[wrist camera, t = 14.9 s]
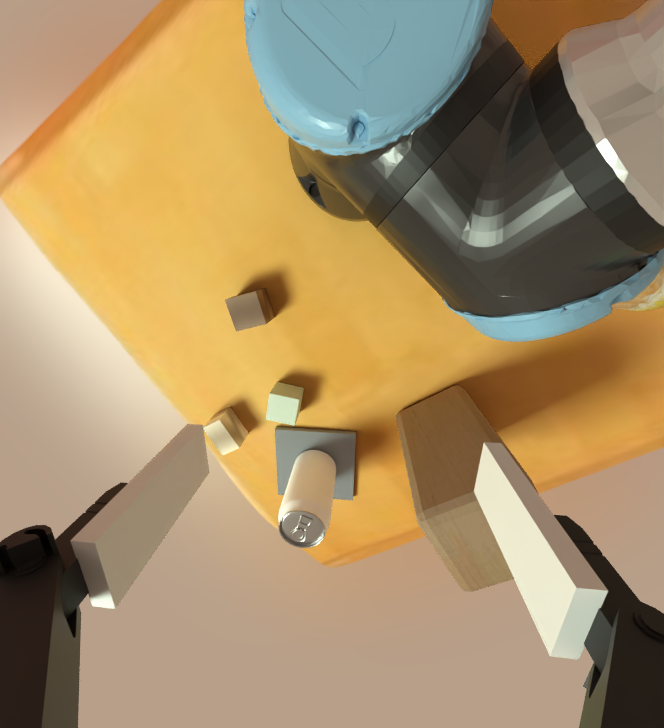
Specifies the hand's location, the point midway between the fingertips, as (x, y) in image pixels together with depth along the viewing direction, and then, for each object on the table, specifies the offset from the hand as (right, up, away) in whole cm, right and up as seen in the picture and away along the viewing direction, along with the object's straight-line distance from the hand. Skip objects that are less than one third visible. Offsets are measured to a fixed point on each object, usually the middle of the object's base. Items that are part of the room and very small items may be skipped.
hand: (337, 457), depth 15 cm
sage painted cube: (-7, 0, +31) cm, 32 cm away
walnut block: (-10, +12, +27) cm, 32 cm away
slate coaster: (-3, -11, +35) cm, 37 cm away
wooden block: (+15, -4, +31) cm, 35 cm away
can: (-3, -11, +34) cm, 36 cm away
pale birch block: (-16, -5, +34) cm, 38 cm away
